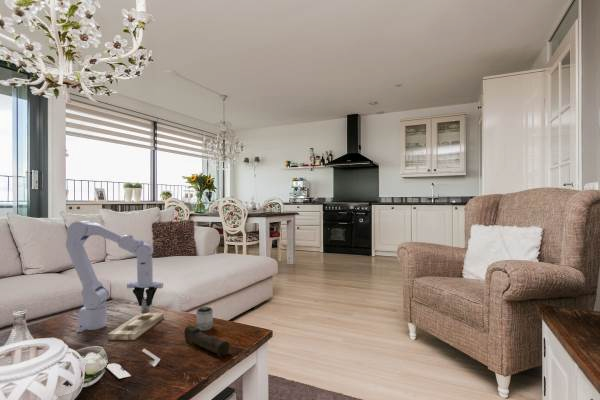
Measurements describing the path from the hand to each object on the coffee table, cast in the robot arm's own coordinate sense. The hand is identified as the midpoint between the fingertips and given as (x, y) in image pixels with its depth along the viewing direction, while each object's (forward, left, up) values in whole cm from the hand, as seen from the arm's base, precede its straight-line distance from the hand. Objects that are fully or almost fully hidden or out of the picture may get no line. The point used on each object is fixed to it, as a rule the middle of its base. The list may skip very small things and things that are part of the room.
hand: (145, 305), depth 134 cm
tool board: (0, -6, -8) cm, 10 cm away
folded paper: (+14, -33, -9) cm, 37 cm away
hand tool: (+31, -19, -8) cm, 38 cm away
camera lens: (+26, -3, -8) cm, 27 cm away
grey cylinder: (0, 0, -3) cm, 3 cm away
